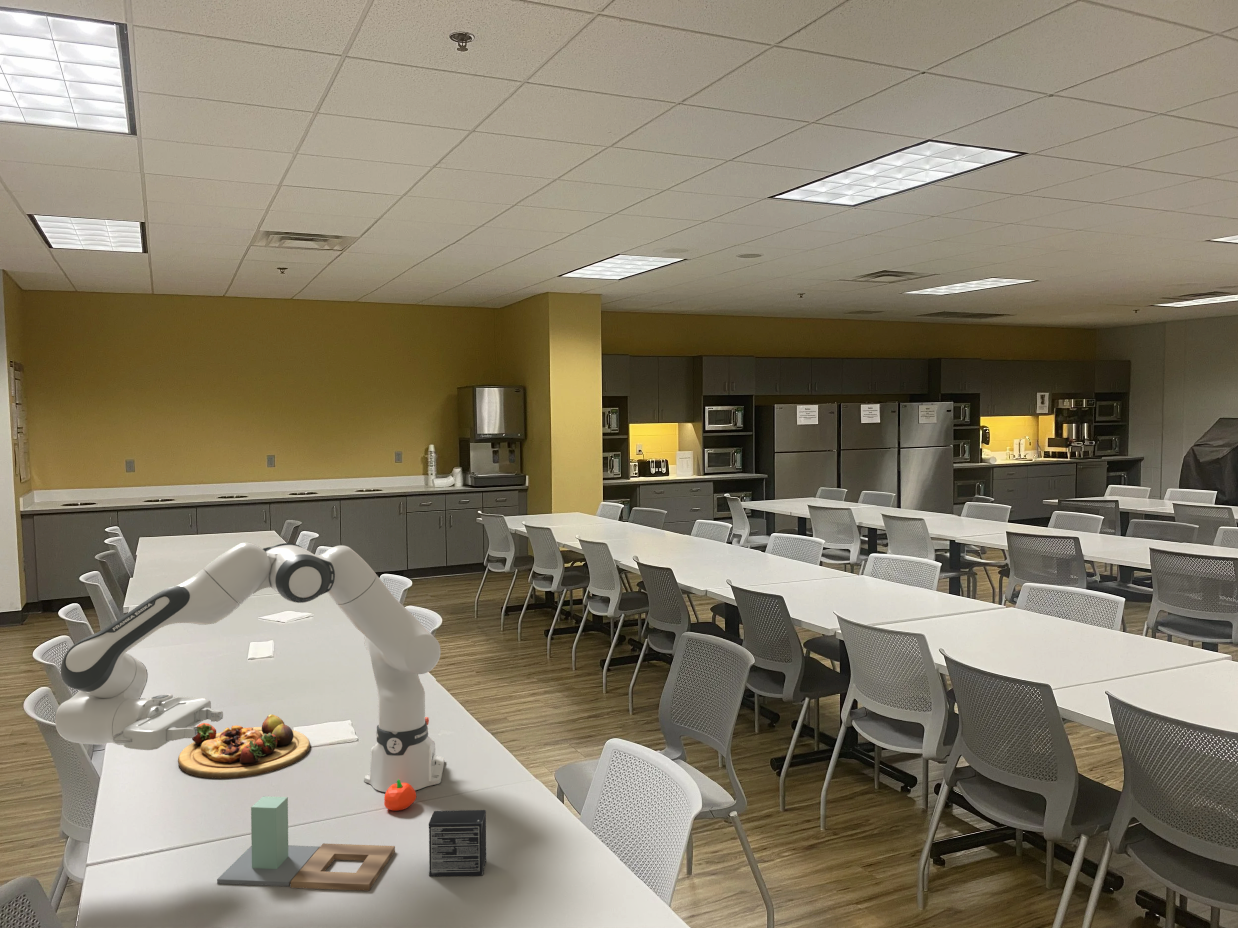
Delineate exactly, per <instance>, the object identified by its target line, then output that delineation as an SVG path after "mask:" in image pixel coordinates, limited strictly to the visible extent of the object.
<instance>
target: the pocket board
mask: <svg viewBox="0 0 1238 928" xmlns="http://www.w3.org/2000/svg"><path fill="white" fill-rule="evenodd" d="M394 853H396V845H379V844H378V845H375V844H352V843H351V844H350V843H349V844H348V843H347V844H346V843H325V842H324V843H322V844H321V845H320V848H319V849H318V850H317V851H316V852H315V853H314V855H313V856H312V857H311V858H310V859H309V860H308V862H307V863H306V864H305V865H304V866H303V867H302V869H301V870H300V871H299V872H298V873H297V874H296V876H295V877H294V878H293V879H292V880H291V885H290V888H291V889H292V888H293V889H315V890H317V889H319V890H341V891H342V890H343V891H362V892H363V891H367V892H368V891H369V892H370V890H371V888H372V887H373V885H374V884H375V882H376V881H377V880H378V878H379V876H380V875H381V874H382V872H383V870H384V869H385V867H386V866H387V864H388V863H389V861H390V860H391V859H392V857H393V855H394ZM335 860H337V861H339V860H340V861H363V862H362V864H361V865H359V866H360V867H359V868H358V869H357V870H356V871H355V872H349V871H348V872H344V871H327V869H329V867H330V866H331V865H332V863H333V862H334V861H335Z"/></svg>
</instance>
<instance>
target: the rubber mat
mask: <svg viewBox="0 0 1238 928" xmlns="http://www.w3.org/2000/svg"><path fill="white" fill-rule="evenodd" d="M320 846H321V845H320ZM320 846H319V845H316V846H315V845H295V844H294V845H289V844H288V857H287V859H286V860H285V861H284V862H283V863H282V864H281V865H280V866H279V867H278V868H277V869H263V868H252V845H250V846H249V847H248V848H247V849H246V850H245V852H243V853H242V854H241V855H240V856H239V857H238V858H237V859H236V860H235V861H234V862H233V863H232V864H230V866H228V868H227V869H225V871H224V872H223V873H222V874H221V875H220V876H219V877H218V878H217V879H216V883H217V884H220V885H221V884H223V885H224V884H225V885H226V884H228V885H247V886H249V885H252V886H253V885H254V886H272V887H273V886H276V887H278V886H279V887H291V880H292V879H293V878H294V877H295V876H296V874H297V873H298V872H299V871H300V870H301V869H302V867H303V866H304V865H305V864H306V863H307V862H308V860H309V859H310V858H311V857H312V856H313V855H314V853H315V852H316V851H317V850H318V849H319V848H320Z"/></svg>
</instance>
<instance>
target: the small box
mask: <svg viewBox="0 0 1238 928" xmlns="http://www.w3.org/2000/svg"><path fill="white" fill-rule="evenodd" d="M428 834H429V835H428V843H429V844H428V849H429V850H428V851H429V853H428V858H429V861H428V863H429V871H428V876H429V877H465V876H466V877H468V876H470V877H471V876H477V877H478V876H483V875H484V873H485V868H486V865H487V810H486V809H469V810H468V809H467V810H464V809H463V810H462V809H461V810H433V812H432V815H431V817H430V819H429V822H428Z"/></svg>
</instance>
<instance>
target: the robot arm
mask: <svg viewBox="0 0 1238 928" xmlns="http://www.w3.org/2000/svg"><path fill="white" fill-rule="evenodd" d="M269 588H271V589H272V590H274V591H275V592H276V593H277V594H279V595H280V597H282V598H284V599H285V600H287V601H289V602H292V603H296V604H299V603H300V604H304V603H307V602H310V601H313V600H315V599H317V598H318V597H320V596H322V595H324V594H326V593H327V595H329V596H330V598H331V599H332V600H333V602H334V603H335V604H336V605H337V606H338V608H339V609H340V610H341V611H342V612H343V614H344V615H345V616H346V618H347V619H348V620H349V621H350V623H351V624H352V625H353V626H354V627H355V628H356V629H357V630H358V631H359V632H360V633H361V634H363V635H364V638H363V643H364V647H365V649H366V651H367V653H368V655H369V658H370V662H371V663H370V664H371V667H372V671H373V676H374V681H375V686H376V691H377V704H378V705H377V709H378V710H377V712H378V717H377V718H378V724H377V725H376V731H375V733H376V734H375V736H376V743H375V744H374V745H373V746H372V747H371V750H370V761H369V762H370V763H369V772H368V773H367V774H365V776H364V778H363V782H365V783H367V784H368V785H369V784H370V786H371V787H372V788H373V789H375V790H376V791H379V792H383V793H386V791H387V789H388V788H389V787H390V786H391V785H392V784H396V783H397V780H398V779H399V780H400V782H401V783H408V784H410V785H411V786H412V787H413V789H414V790H415V791H417V790H421V789H423V788H426V787H429V786H433V785H438V784H440V783H441V782H442V778H443V771H444V767H445V757H443V756H440V755H436V742H435V740H433V739H432V738H431V737H430V736H429V728H428V727H429V723H430V717H429V716H426V691H425V688H424V686H423V683H422V682H421V680H420V679H421V678H420V676H419V675H425V674H427V673H429V672H431V671H432V670H433V669H434V668H435V667H436V666H437V665H438V663H439V660H440V659H441V651H442V649H441V644H440V642H439V641H438V639H437V637H435V636H434V635H433V634H432V633H430V631H428V630H427V629H426V628H425V626H424V625H423V624H422V623H421V622H420V621H419V620H418V619H417V618H416V617H415V616H414V615H413V614H412V613H411V612H410V610H408V609H407V608H406V607H405V606H404V605H403V604H401V602H399V600H398V599H397V598H396V597H395V596H394V595H393V594H392V593H391V591H390V590H389V588H388V587H387V586H386V585H385V584H384V582H383V581H382V580H381V578H380V577H379V575H378V574H376V572H375V571H374V569H373V568H372V567H371V566H370V565H369V563H368V562H366V561H365V559H364V558H362V557H361V556H360V555H359V554H358V553H357V552H356V551H354V550H353V549H352V547H349V546H347V545H343V544H341V545H336V546H333V547H330V548H329V549H327V550H325V551H324V552H323V553H320V554H314V553H312V552H311V551H310V550H307V549H305V548H304V547H302V546H301V545H299V544H297V543H291V542H284V543H278V544H275V545H272V546H269V547H263V548H262V547H260V546H259V545H257V544H255V543H252V542H247V541H246V542H245V541H244V542H240V543H238V544H236V545H234V546H233V547H231V548H229V549H227V550H226V551H224V552H223V553H221V554H219V556H216V557H215V558H214V559H213V560H212V561H210V562H209V563H207V565H205V566H204V567H203V568H201V569H200V570H199V571H198V572H196V574H193V576H191V577H189V578H188V579H186V580H184V581H182V582H181V583H179V584H177V585H174V586H169V587H167V588H164V589H163V590H161V591H159V592H157V593H156V594H154V595H152V596H151V597H150V598H147V599H146V600H144V601H143V602H141V604H139V605H138V606H136V607H134V608H133V609H132V610H130V611H128V612H127V613H125V614H124V615H123V616H121V617H119V618H118V619H117V620H115V621H114V622H112V623H111V624H110V625H108V626H107V627H105V628H103V629H102V630H100V631H97V632H96V633H93V634H90V635H89V636H86V637H84V638H82V639H80V640H78V641H77V642H75V643H74V644H73V645H72V646H70V647H69V648H68V649H67V651H66V653H65V654H64V656H63V658H62V661H61V664H60V677H61V680H62V681H63V683H64V684H65V685H66V686H68V687H69V688H72V689H74V690H77V692H76V693H75V694H74V695H73V696H72V697H70V698H69V699H67V700H65V701H63V702H61V704H60V705H59V706H58V708H57V710H56V711H55V712H56V713H55V718H54V720H55V721H54V722H55V728H56V731H57V733H58V734H59V735H60V736H61V738H63V739H64V740H66V741H68V742H70V743H75V744H76V743H77V744H84V745H100V746H101V745H106V744H115V745H117V746H123V747H124V748H126V749H130V750H140V751H153V750H157V749H159V748H161V747H163V746H164V745H166V744H168V743H170V742H171V741H172V742H174V741H178V740H183V739H192V738H193V737H195V736H196V735H197V726H198V725H199V724H201V723H202V722H204V721H206V720H209V721H210V722H211V723H212V722H213V723H214V722H220V721H222V720H223V718H224V712H223V710H215V709H214V708H212V701H211V700H209V699H207V698H204V697H193V696H176V697H174V695H173V694H171V693H163V694H159V695H156V696H152V697H147V698H146V697H143V698H142V695H143V693H144V690H145V688H146V686H147V682H148V675H149V673H148V669H147V667H146V666H145V664H144V663H143V662H142V661H140V660H138V659H137V658H135V657H134V656H132V655H131V654H129V653H127V652H128V651H130V650H131V649H133V648H134V647H135V646H136V645H138V644H140V643H141V642H142V641H144V640H145V639H147V638H148V637H150V636H151V635H152V634H154V633H155V632H156V631H158V630H159V629H161V628H164V627H165V626H170V625H173V624H174V625H175V624H192V625H193V624H194V625H199V626H200V625H201V626H204V625H212V624H216V623H219V622H220V621H222V620H224V619H225V618H227V617H228V616H230V615H231V614H232V613H233V612H235V611H237V609H238V608H239V607H240V606H241V605H242V604H244V603H245V602H246V601H247V600H248V599H249V598H250V597H251V596H252V595H254V594H255V593H257V592H259V591H260V590H261V591H262V590H264V589H269Z"/></svg>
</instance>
